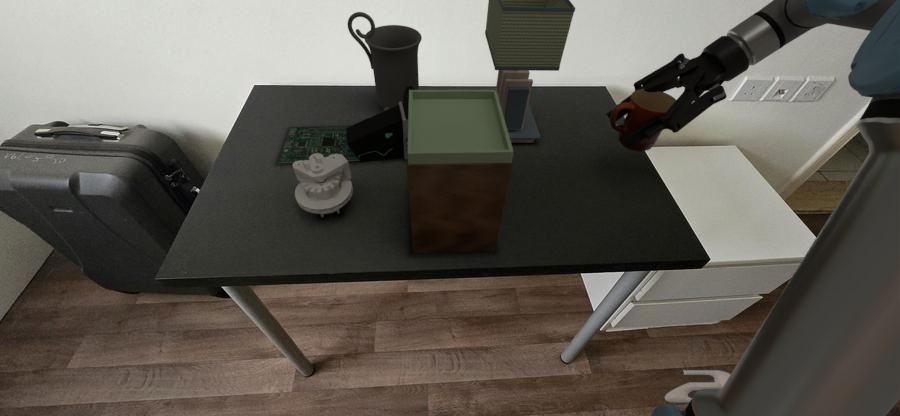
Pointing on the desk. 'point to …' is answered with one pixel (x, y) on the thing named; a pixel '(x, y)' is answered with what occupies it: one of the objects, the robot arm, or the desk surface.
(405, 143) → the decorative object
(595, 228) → the desk surface
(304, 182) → the mechanical part
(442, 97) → the tray
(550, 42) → the desk lamp
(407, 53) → the mug
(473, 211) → the plinth
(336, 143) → the circuit board
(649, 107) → the mug
